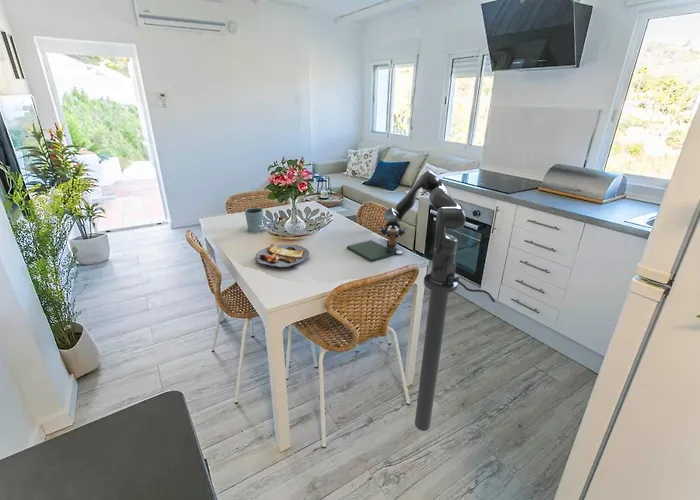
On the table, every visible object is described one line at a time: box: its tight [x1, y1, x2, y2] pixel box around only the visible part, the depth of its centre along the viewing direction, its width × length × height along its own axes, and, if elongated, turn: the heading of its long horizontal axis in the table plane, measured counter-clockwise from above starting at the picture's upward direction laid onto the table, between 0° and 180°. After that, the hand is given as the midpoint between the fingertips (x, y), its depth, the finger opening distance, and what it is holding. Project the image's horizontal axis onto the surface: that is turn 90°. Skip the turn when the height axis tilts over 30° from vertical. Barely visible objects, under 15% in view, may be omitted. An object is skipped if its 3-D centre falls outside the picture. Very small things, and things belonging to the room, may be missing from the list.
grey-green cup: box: [244, 207, 264, 233], centre depth 200 cm, size 10×10×12 cm
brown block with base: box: [386, 229, 398, 253], centre depth 174 cm, size 5×10×10 cm, turn 173°
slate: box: [346, 239, 397, 262], centre depth 176 cm, size 20×16×1 cm
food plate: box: [254, 243, 311, 268], centre depth 165 cm, size 25×23×4 cm
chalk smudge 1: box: [395, 250, 403, 255], centre depth 174 cm, size 3×3×1 cm
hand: (392, 236), depth 170 cm, fingers closed on brown block with base, 3 cm apart
